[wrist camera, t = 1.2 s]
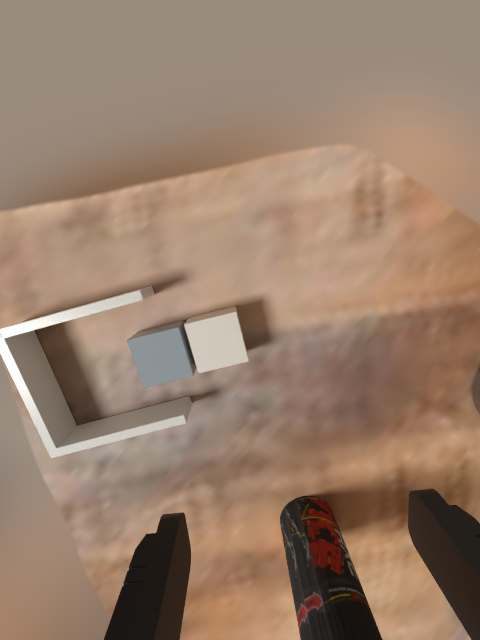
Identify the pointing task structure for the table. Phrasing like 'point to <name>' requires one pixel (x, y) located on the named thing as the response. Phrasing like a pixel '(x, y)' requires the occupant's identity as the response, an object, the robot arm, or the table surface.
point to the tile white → (216, 339)
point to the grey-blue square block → (162, 354)
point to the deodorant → (323, 575)
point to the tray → (48, 398)
